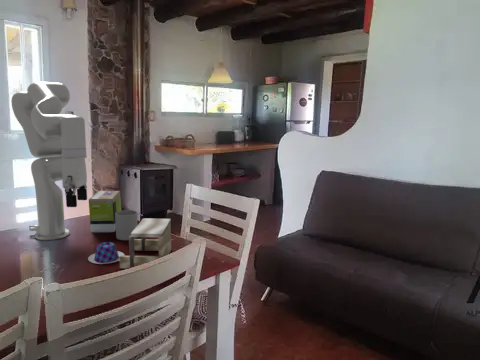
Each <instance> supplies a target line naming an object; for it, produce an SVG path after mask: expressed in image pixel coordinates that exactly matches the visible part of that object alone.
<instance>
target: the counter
mask: <svg viewBox="0 0 480 360" xmlns="http://www.w3.org/2000/svg"><path fill="white" fill-rule="evenodd" d="M171 221H172V219H171V218H152V217H151V218H150V217H149V218H146V217H145V218H142V219H141V221H140V222H139V223H138V225H137V227H136V228H135V229H134V230H133V231H132V233H131V236H129V240H128V248H129V250H128V251H129V253H128V254H129V255H125V256H119V257H118V259H119V261H118V262H119V269H130V268H131V267H134V266H138V265H141V264H144V263H147V262H150V261H153V260H155V259H158V258H160V257H163V256H165V255H167V254H169V253H171V252H172V226H171V225H172V222H171ZM134 237H137V238H135V239H134ZM147 238H148V239H147ZM149 238H150V239H149ZM151 238H156V239H151ZM135 251H142V252H144V251H152V252H153V251H154V252H155V251H156V252H157V251H158V255H136V254H135ZM169 255H170V254H169Z"/></svg>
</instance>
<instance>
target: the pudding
mask: <svg viewBox="0 0 480 360" xmlns="http://www.w3.org/2000/svg"><path fill="white" fill-rule="evenodd" d="M119 256H126V255H125V253H124V252H122V251H118V249H117V246H116V244H115V243H114V242H111V241H107V242H106V241H105V242H100V243H99V244H98V245H96V250H95V253H93V254H90V255H89V256H88V258H87V260H88V261H89V262H90V263H92V264H99V265H105V264H112V263H116V262H119Z"/></svg>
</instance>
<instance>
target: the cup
mask: <svg viewBox="0 0 480 360" xmlns="http://www.w3.org/2000/svg"><path fill="white" fill-rule="evenodd" d="M115 219H116V230H115V238H116V239H117V240H120V241H129V236H131V233H132V231H133V230H134V229H135V228H136V227H137V225H138V224H139V223H138V211H136V210H132V209H125V210H124V209H123V210H121V211H118V212H116V213H115ZM134 239H138V237H134Z"/></svg>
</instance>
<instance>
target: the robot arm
mask: <svg viewBox="0 0 480 360" xmlns="http://www.w3.org/2000/svg"><path fill="white" fill-rule="evenodd" d="M70 95H71V94H70V90H69V89H68V87H67V85H65V83H64V84H63V83H62V82H51V81H50V82H49V81H36V82H35V81H34V82H31V83H30V84H29V85H28V87H27V89H26V91H19V92H16V93H14V94H13V95H12V96H11V101H10V102H11V108H12V111H13V114H14V117H15V118H16V120H17V122H18V123H19V124H20V126H21V128H22V129H23V133H24V137H25V140H26V144H27V146H28V148H29V149H28V150H29V152H30V154H31V155H32V157H33V158H36V159H34V160H33V161H32V162H31V164H30V165H31V166H30V171H31V175H32V179H33V184H34V189H35V190H34V191H35V200H36V209H37V210H36V211H37V212H36V213H37V222H38V223H37V224H29V228H28V229H29V232H33V231H34V232H35V234H34V238H35V239H37V240H41V241H53V240H59V239H63V238H65V237H67V236H69V235H70V230H69V229H68V228H66V226H65V224H66V223H65V221H66V220H65V208H64V196H65V202H66V203H65V205H66V207H67V208H76V207H78V201H87V200H88V192H87V191H88V189H87V188H88V186H87V181H88V179H87V178H88V177H87V165H86V159H87V156H88V155H87V144H86V143H87V140H86V139H87V138H86V124H85V118H84V117H82V116H79V115H75V114H61V112H62V110H63V109H64V108H65V107H66V106H67V105H68V103H69V101H70V99H71V97H70ZM59 181H62V188H63V189H64V192H65V194H64V192H63V190H62V189H61V187H60V186H59V185H57V183H56V182H59ZM77 200H78V201H77Z"/></svg>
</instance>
